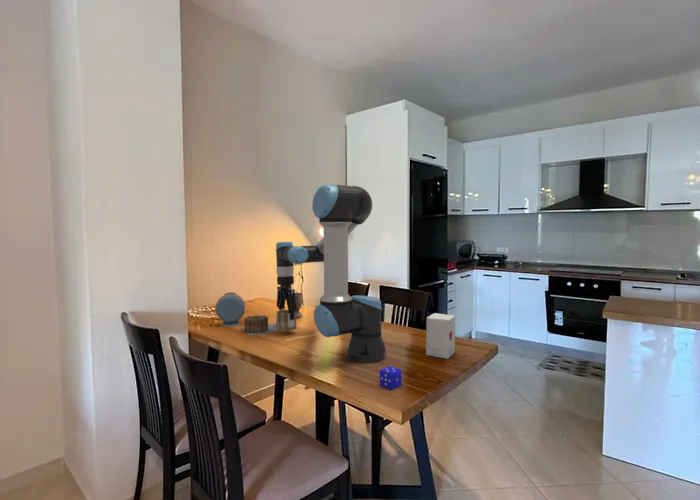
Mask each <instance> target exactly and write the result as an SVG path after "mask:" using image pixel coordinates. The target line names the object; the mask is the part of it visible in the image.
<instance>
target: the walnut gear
mask: <svg viewBox="0 0 700 500" xmlns="http://www.w3.org/2000/svg"><path fill="white" fill-rule="evenodd" d="M243 323H244V328H245V331H247V333H254V334H255V333H261V332H266V330H268V324H269V316H266V315H265V314H264V315H259V314H255V315H249V316H246V317H244V322H243ZM247 333H246V334H247Z"/></svg>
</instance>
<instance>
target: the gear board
mask: <svg viewBox="0 0 700 500" xmlns="http://www.w3.org/2000/svg"><path fill="white" fill-rule="evenodd" d="M240 331H243V332H244V333H245V334H247V335H248V336H251V337H253V336H257V335H263V334H268V333H274V332H280V331H281V330H280V331H278V330H277V315H276V316H275V322H274V323H268V330H266V332H261V333H255V334H254V333H247V331H245V327H243V328H240ZM281 332H282V331H281Z"/></svg>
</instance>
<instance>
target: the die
mask: <svg viewBox="0 0 700 500" xmlns="http://www.w3.org/2000/svg"><path fill="white" fill-rule="evenodd" d="M402 372H403V371H402V369H401V368H397V367H393V366H391V365H389V366H386V367H384V368H382V369H380V370H379V386H380V387H383V388H386V389H388V390H391V391H392V390H395V389H397V388H398V387H400V386H402V384H403V383H402V377H403V376H402Z"/></svg>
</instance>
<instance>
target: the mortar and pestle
mask: <svg viewBox="0 0 700 500" xmlns="http://www.w3.org/2000/svg"><path fill="white" fill-rule="evenodd" d="M295 301H296V309H297V311H296V319H300V317H301V318H302V317H303V315H302V314H303V313H301V312H300V310H301V309H302V307H303V306H302V305H303V301H304V300H303V293H302V292H295Z"/></svg>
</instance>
